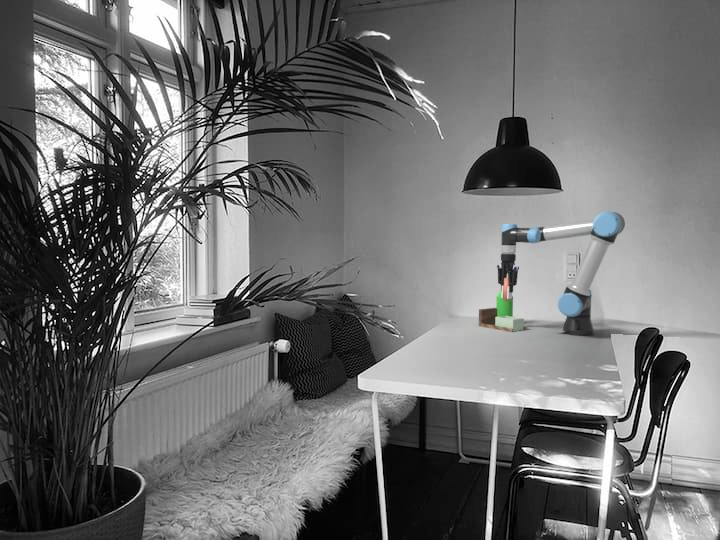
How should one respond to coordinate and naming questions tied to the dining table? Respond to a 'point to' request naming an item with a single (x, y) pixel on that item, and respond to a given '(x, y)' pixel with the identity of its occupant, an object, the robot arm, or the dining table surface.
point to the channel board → (491, 320)
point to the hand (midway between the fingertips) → (506, 298)
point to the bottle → (504, 306)
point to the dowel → (505, 289)
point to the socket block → (510, 322)
